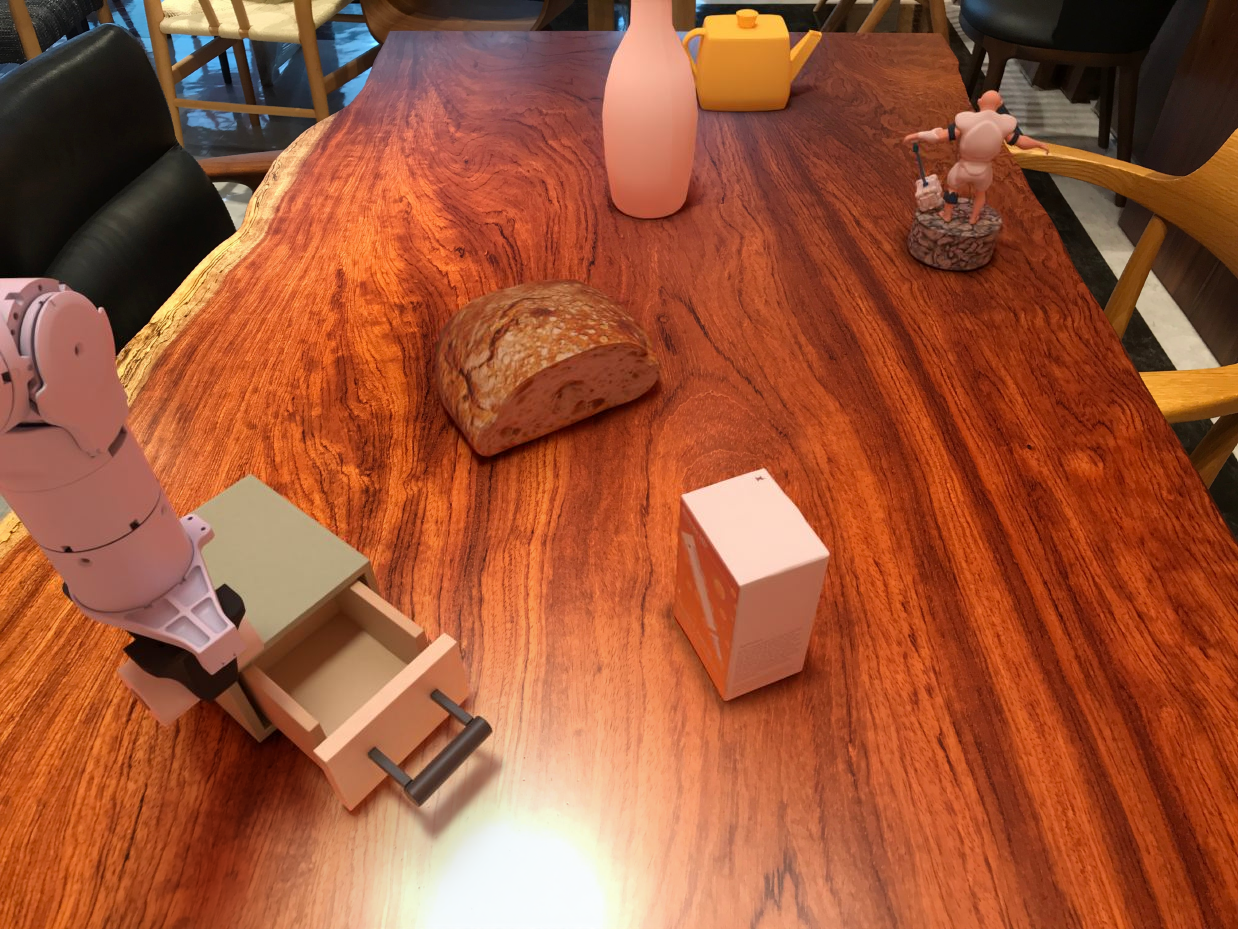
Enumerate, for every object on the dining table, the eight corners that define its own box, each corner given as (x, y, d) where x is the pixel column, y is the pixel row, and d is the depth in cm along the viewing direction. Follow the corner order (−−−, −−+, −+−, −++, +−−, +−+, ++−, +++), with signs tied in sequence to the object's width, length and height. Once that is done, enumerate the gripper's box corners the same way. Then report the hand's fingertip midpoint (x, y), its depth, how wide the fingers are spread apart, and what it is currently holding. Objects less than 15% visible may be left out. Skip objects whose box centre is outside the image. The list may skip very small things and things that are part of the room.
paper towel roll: (222, 611, 55) (268, 657, 54) (122, 686, 51) (169, 737, 50) (215, 582, 51) (263, 632, 50) (106, 661, 47) (157, 716, 47)
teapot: (807, 79, 137) (818, -4, 128) (819, 112, 128) (832, 25, 119) (678, 80, 137) (681, -2, 129) (681, 113, 128) (684, 27, 120)
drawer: (522, 734, 57) (512, 682, 53) (402, 860, 51) (381, 814, 47) (351, 602, 65) (331, 547, 60) (231, 699, 59) (199, 647, 55)
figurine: (1012, 238, 102) (1065, 79, 89) (1019, 278, 96) (1077, 114, 83) (882, 226, 104) (916, 70, 92) (882, 264, 98) (918, 103, 86)
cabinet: (393, 629, 64) (370, 559, 59) (260, 743, 58) (220, 677, 52) (280, 543, 70) (250, 472, 65) (149, 637, 64) (103, 569, 58)
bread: (472, 471, 76) (455, 380, 69) (413, 355, 87) (394, 267, 80) (682, 403, 82) (687, 313, 75) (601, 303, 94) (598, 217, 87)
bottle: (669, 232, 104) (677, -2, 86) (587, 211, 108) (578, -17, 90) (708, 192, 111) (722, -32, 93) (629, 173, 115) (629, -45, 97)
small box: (671, 615, 65) (677, 492, 55) (747, 587, 66) (765, 464, 57) (723, 705, 59) (739, 586, 50) (804, 673, 61) (834, 552, 52)
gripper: (261, 526, 40) (332, 685, 50) (96, 402, 47) (187, 564, 56) (118, 627, 37) (224, 779, 46) (-40, 476, 43) (82, 637, 53)
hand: (197, 666), depth 51 cm, fingers closed on paper towel roll, 4 cm apart
